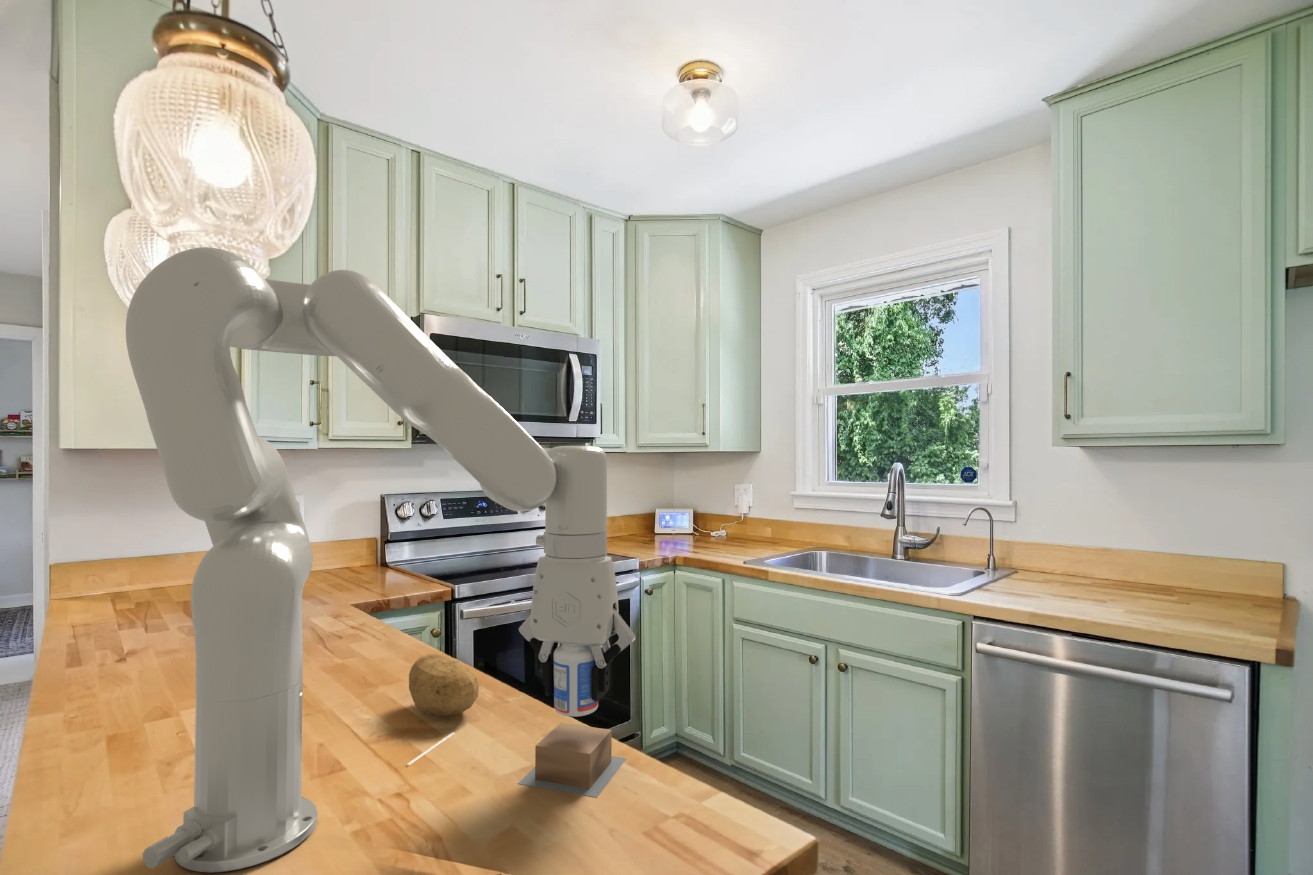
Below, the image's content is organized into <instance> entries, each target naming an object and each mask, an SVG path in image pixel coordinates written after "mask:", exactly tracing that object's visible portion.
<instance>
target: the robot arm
mask: <svg viewBox="0 0 1313 875" xmlns="http://www.w3.org/2000/svg"><path fill="white" fill-rule="evenodd" d="M125 342H126V348H127V349H126V350H127V354H128V359H129V362H130V366H131V369H132V372H133V375H134V379H135V381H136V385H137V388H138V393H139V394H140V398H141V400H142V404H143V407H144V410H145V414H146V418H147V422H148V425H149V428H150V431H151V436H152V438H153V442H154V444H155V446H156V449H157V453H158V455H159V459H160V462H161V465H162V469H163V472H164V475H165V479H166V483H167V487H168V490H169V492H170V494H171V498H172V499H173V501H174V502H175V504H176V505H177V506H178V508H179V509H180V510H181V511H183V512H184V513H185V514H187V515H188V516H190V517H192V518H194V519H196V520H199V521H203V522H204V523H205V527H206V529H207V531H208V534H209V538H210V541H211V544H212V547H211V548H210V549H209V550H207V552H206V553H205V555H204V556H203V557H202V559H201V560H200V562H199V564H198V566H197V568H196V570H195V573H194V576H193V578H192V579H193V580H192V584H191V594H190V596H191V597H190V599H191V600H190V602H191V603H190V604H191V615H192V616H191V617H192V624H193V632H194V634H193V635H194V645H195V646H194V647H195V649H194V650H195V690H194V691H195V717H194V718H195V725H194V726H195V728H194V731H195V732H194V734H195V735H194V738H195V739H194V781H193V782H194V790H193V791H194V792H193V798H194V799H193V806H192V807H191V808H189V809H186V810H185V811H183V818H182V819H183V824H181V825H180V826H178V827H176V830H175V832H174V833H172V834H170V835H169V836H165V837H164V838H162V839H160V840H159V841H156V842H154V843H153V844H151V845H150V846H147V847H146V848H145V849H144V851H143V852H142V859H143V862H144V864H145V866H146V867H147V868H149V869H151V870H152V869H155V868H156V867H158V866H160V865H162V864H164V863H165V862H167V861H168V860H170V859H172V858H175V859H174V860H175V861H176V863H177V864H178V865H179V866H181V867H182V868H185V869H187V870H189V871H194V872H198V873H223V872H224V873H225V872H229V871H230V872H231V871H235V870H237V871H239V870H241V869H245V868H249V867H253V866H257V865H259V864H262V863H265V862H268V861H271V860H273V859H275V858H277V857H279V856H281V855H283V854H285V853H287V852H289V851H290V850H292V849H294V848H295V847H297V846H298V845H299V844H301V843H302V842H304V841H305V840H306V838H308V836H310V835H311V833H312V832H313V831H314V829H315V827H316V825H317V824H318V809H317V806H316V804H315V803H314V802H313V801H312V800H310V799H309V798H307V797H304V796H302V755H303V753H302V752H303V751H302V749H303V747H302V746H303V740H302V739H303V684H304V683H303V682H304V681H303V679H304V678H303V676H304V674H303V673H304V672H303V671H304V670H303V669H304V667H303V666H304V663H303V662H304V653H303V652H304V649H303V647H304V642H303V640H304V639H303V635H304V634H303V591H304V586H305V584H306V582H307V581H308V579H309V576H310V573H311V570H312V569H313V568H312V567H313V562H314V561H313V559H314V558H313V549H312V545H311V541H310V538H309V535H308V532H307V529H306V525H305V521H304V519H303V515H302V511H301V509H300V507H299V504H298V500H297V497H296V494H295V492H294V487H293V483H292V481H291V478H290V474H289V471H288V470H287V467H286V465H285V464H286V463H285V462H284V459H283V457H282V456H281V454H280V453H279V451H278V450H277V449H276V447H275V446H274V445H273V444H272V443H270V442H269V440H266V439H265V438H263V437H262V436H260V435H258V434H257V433H258V432H257V430H256V428H255V425H254V422H253V419H252V417H251V414H250V411H249V408H248V406H247V402H246V397H245V395H244V394H245V393H244V389H243V386H242V384H241V380H240V378H239V376H238V373H237V371H236V368H235V366H234V363H233V359H232V356H231V348H236V349H241V350H248V351H249V350H251V351H259V352H260V351H261V352H273V353H282V354H293V355H294V354H295V355H296V354H297V355H304V356H305V355H307V356H318V357H319V356H320V357H321V356H322V357H336V358H338V359H339V360H340V361H341V362H343V364H344V365H345V366H346V367H347V368H348V369H350V370H351V371H352V372H353V373H354V374H355V375H356V376H357V377H358V378H359V379H360V380H361V381H363V383H364V384H365V385H366V386H367V387H369V388H370V389H371V391H372V392H374V394H375V395H377V397H379V398H380V399H381V400H382V401H383V402H384V403H385V404H386V405H387V406H388V407H389V408H390V409H391V410H392V411H393V412H394V413H395V414H396V415H398V416H399V417H400V418H401V419H402V420H403V421H404V422H405V423H407V424H408V425H410V426H411V427H413V428H414V429H416V430H418V431H419V432H421V433H422V434H424V435H426V436H427V437H428V438H430V439H431V440H433V442H435V443H436V444H437V445H438V446H439V447H440V448H442V450H444V451H445V452H446V453H447V454H449V455H450V456H451V457H452V459H454V460H455V461H456V462H457V463H458V464H459V465H460V466H461V467H462V468H464V469H465V471H467V472H468V473H469V474H470V475H471V476H472V477H473V478H474V479H475V480H476V481H477V482H478V483H479V486H480V488H481V490H482V491H483V493H484V494H485V495H486V496H487V498H488V499H490V500H491V501H493V502H494V503H496V504H498V505H500V506H502V507H504V508H506V509H508V510H510V511H514V512H529V511H532V510H535V509H537V508H539V507H541V506H542V505H544V504H545V508H544V509H545V510H544V511H545V512H544V514H545V518H544V520H545V524H544V526H545V528H544V529H545V531H544V532H543V534H542V535H541V534H538V535H537V536H536V538H535V545H536V546H538V547H541V548H543V553H544V554H545V555H543V556H539V557H538V560H537V565H536V569H535V575H534V581H533V586H532V596H531V606H530V607H531V608H530V615H529V616H528V617H527V618H526V619H525V620H524V621H523V622H522V624H521V625H520V626H519V627H518V632H519V633H520V635H522V636H523V638H524V639H525V640H526V641H527V642H529V645H530V647H531V648H532V649H533V650H534V652H535V653H536V654H537V655H538V659H539V660H538V661H540V662H541V663H542V685H543V686H544V695H545V696H551V695H554V651H555V649H556V648H557V647H558V646H560V645H561V643H566V644H577V645H588V646H591V649H592V652H593V655H594V659H595V667H593V668H592V700H593V701H598V702H599V701H600V700H601V699H603V697H604V696H605V695H606V694H607V692H608V691H610V690H609V689H610V678H611V677H610V673H611V672H610V670H611V668H610V664H611V662H612V661H613V660H614V659H615V658H616V657H617V656H618V655H619V654H620V653H621V652H622V651H624V650H625V649H626V648H627V647H628V646H629V645H630V644H632V643H633V642H634V641H635V640H636V634H635V632H633V630H632V629H631V627H630V626H629V625H628V624H627V623H626V621H625V620H624V619H623V618H622V616H621V614H619V611H620V610H619V597H618V587H617V579H616V572H615V569H614V568H615V567H614V563H613V560H612V557H611V556H608V458H607V454H606V451H604V449H602V448H601V447H599V446H594V445H559V446H555V447H551V448H550V447H549V448H547V447H542V445H540V444H539V443H538V442H537V441H536V440H535V439H534V437H533V436H532V435H531V434H529V433H528V432H527V430H526V429H525V428H524V427H523V426H522V425H521V424H519V423H518V421H517V420H515V418H514V417H513V416H512V415H511V414H510V413H508V412H507V411H506V409H504V407H502V406H501V405H500V404H499V403H498V402H497V401H496V400H494V398H492V396H490V395H489V394H488V393H487V392H486V391H485V390H484V389H483V388H481V387H480V386H479V385H478V384H477V383H476V382H475V381H474V380H473V379H472V378H471V377H470V376H469V375H468V374H467V373H466V372H465V371H463V369H461V367H459V366H458V365H457V364H456V363H455V362H454V361H453V360H451V358H449V356H448V355H446V354H445V352H443V351H442V349H441V348H439V347H438V346H437V344H435V343H434V342H433V341H432V340H431V339H430V338H429V336H427V335H426V334H425V333H424V332H423V331H422V330H421V329H420V328H419V326H418V325H416V323H415V322H413V320H412V319H411V318H410V317H408V316H407V314H406V313H404V311H403V310H402V309H401V308H400V307H399V306H398V305H397V304H396V303H395V302H394V301H393V300H392V299H391V298H390V297H389V296H388V295H387V294H386V293H385V292H384V291H383V290H382V289H381V288H380V287H379V286H378V285H376V283H375V282H373V281H372V280H371V279H369V278H368V277H366V276H365V275H363V274H361V273H359V272H357V271H353V270H349V269H337V270H336V269H335V270H332V271H329V272H326V273H324V274H322V275H320V276H319V277H317V278H316V279H315V280H313V281H312V283H310V284H309V283H300V282H299V283H298V282H291V281H284V280H283V281H282V280H277V279H267V278H264V276H262V275H261V273H260V272H259V271H258V270H257V269H256V267H255V266H254V265H252V264H251V263H250V262H249V261H247V260H245V259H244V258H243V257H240V256H239V255H237V254H235V253H233V252H230V251H228V250H225V249H222V248H218V247H217V248H215V247H208V246H206V247H205V246H202V247H195V248H193V247H192V248H189V249H185V250H182V251H179V252H177V253H175V254H173V255H171V256H169V257H168V258H166V259H164V260H163V261H162V262H160V263H159V264H157V265H156V266H155V267H154V268H153V269H152V270H150V271H149V272H148V274H146V276H145V277H143V280H142V281H141V282H140V283H139V284H138V286H137V288H136V289H135V292H133V295H132V297H131V300H130V302H129V305H128V309H127V313H126V318H125ZM615 635H617V636H618V639H617V641H616V642H615V643H614V644H612V645H611V644H610V641H609V640H610V637H613V636H615Z"/></svg>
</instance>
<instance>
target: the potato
mask: <svg viewBox="0 0 1313 875" xmlns="http://www.w3.org/2000/svg"><path fill="white" fill-rule="evenodd" d="M476 675H477V674H475V673H474V671H472V669H471V668H470V667H469V666H468V665H467V664H465V663H463V662H461V661H459V660H457V659H455V658H452V656H451V657H450V656H448V655H446V654H442V653H441V654H440V653H428V654H425V655H422V656H420V657H419V658H418V659H417V660H416V661H415V662H414V663H413V664H412V666H411V668H410V671H409V674H408V690H409V692H410V696H411V698H412V700H413V703H414V705H415V706H416V707H417V708H418V709H420V710H421V711H423V712H425V713H426V714H429V715H431V716H433V717H439V716H440V717H441V716H442V717H443V716H456V717H457V716H458V715H460V714H461V713H464V712H465V711H467V710H469V709H471V708H472V705H473V704H474V703H475V702H476V700H477V698H478V697H479V686H480V685H479V681H478V678H477V676H476Z"/></svg>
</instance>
